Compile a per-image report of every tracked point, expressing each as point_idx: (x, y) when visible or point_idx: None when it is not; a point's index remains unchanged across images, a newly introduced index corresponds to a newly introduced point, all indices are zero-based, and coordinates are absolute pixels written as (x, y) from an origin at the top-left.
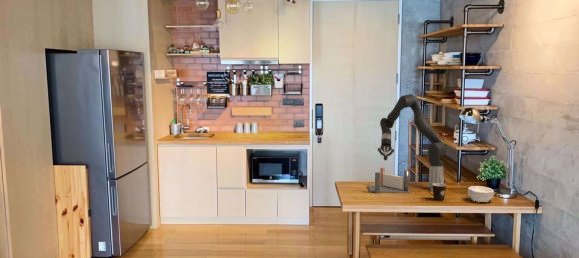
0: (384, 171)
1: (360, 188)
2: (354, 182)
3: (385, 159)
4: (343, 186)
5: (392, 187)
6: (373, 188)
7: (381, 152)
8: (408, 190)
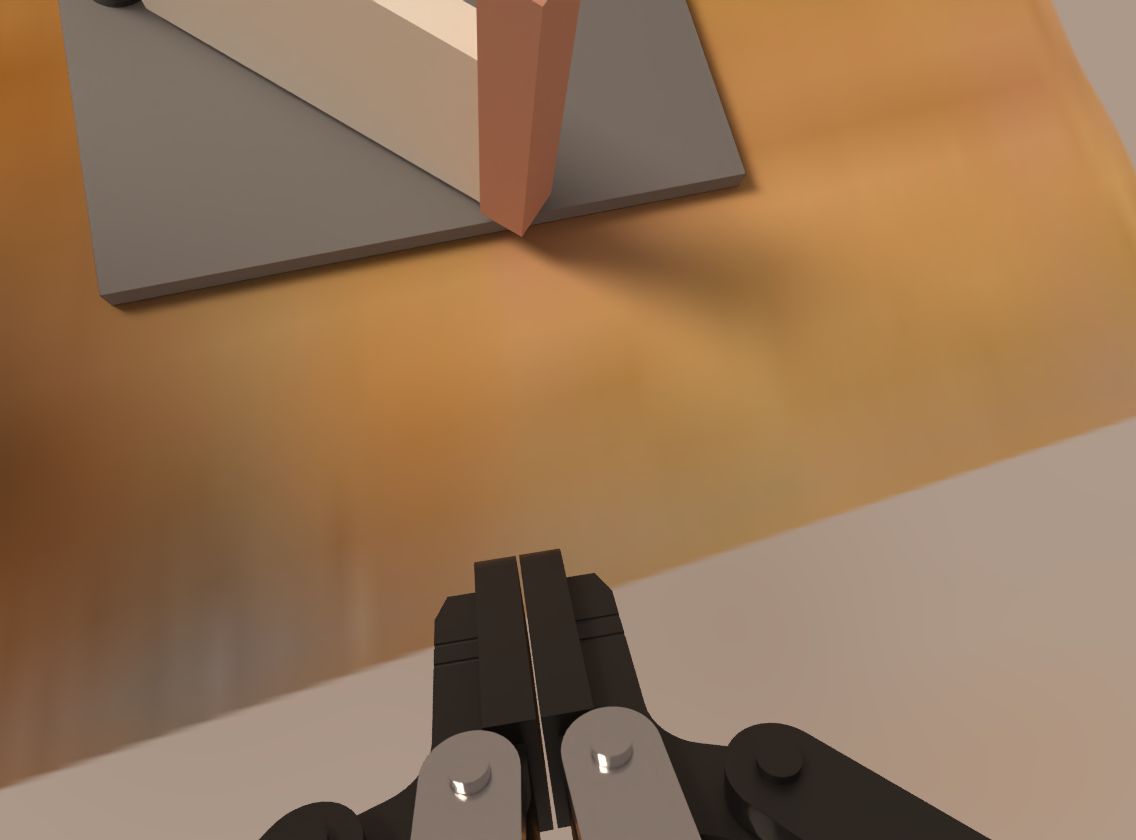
0: (482, 36)
1: (812, 64)
2: (1003, 404)
3: (525, 561)
4: (1065, 119)
5: (338, 125)
6: (623, 9)
7: (859, 795)
8: (74, 2)
